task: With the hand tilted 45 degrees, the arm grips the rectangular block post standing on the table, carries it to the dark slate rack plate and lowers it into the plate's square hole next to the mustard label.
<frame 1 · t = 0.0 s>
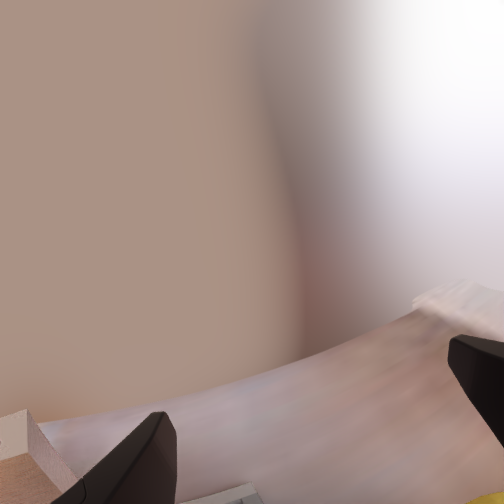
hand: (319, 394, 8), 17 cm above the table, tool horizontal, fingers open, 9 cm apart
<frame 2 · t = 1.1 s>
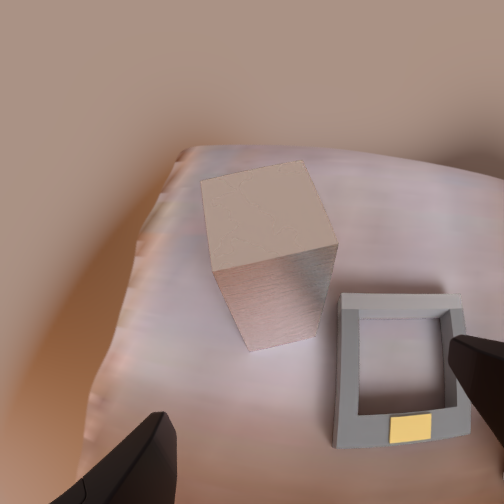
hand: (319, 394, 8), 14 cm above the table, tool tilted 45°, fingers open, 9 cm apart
rectangular block post: (275, 314, 24), on the table
rack plate: (401, 365, 21), on the table
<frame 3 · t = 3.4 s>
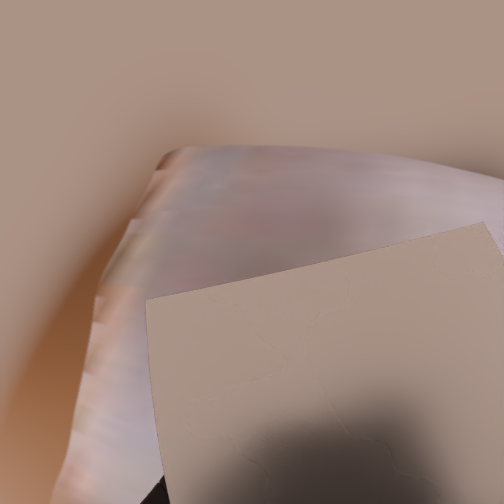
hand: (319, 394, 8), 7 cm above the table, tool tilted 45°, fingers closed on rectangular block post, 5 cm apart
rectangular block post: (312, 433, 13), on the table, touching gripper
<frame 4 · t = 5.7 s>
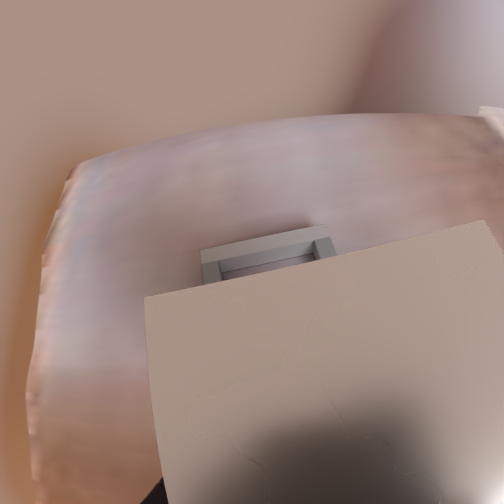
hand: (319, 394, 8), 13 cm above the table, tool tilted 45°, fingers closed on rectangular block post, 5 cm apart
rectangular block post: (312, 433, 13), point 7 cm above the table, touching gripper
rack plate: (277, 305, 24), on the table
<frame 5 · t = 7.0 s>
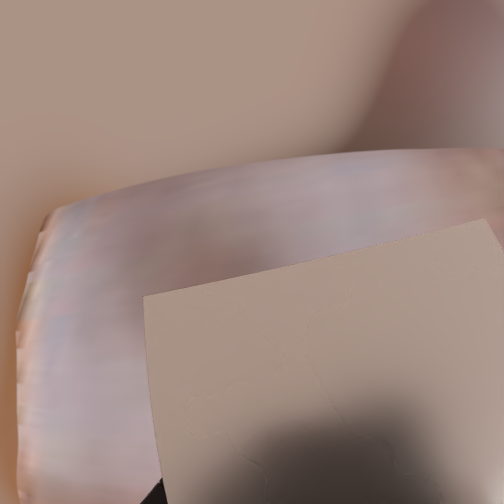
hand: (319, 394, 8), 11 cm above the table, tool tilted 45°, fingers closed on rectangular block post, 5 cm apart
rectangular block post: (312, 433, 13), point 4 cm above the table, touching gripper
when the fingers open (8 cm above the table, at t = 8.0 s): rectangular block post drops 1 cm, resting in rack plate.
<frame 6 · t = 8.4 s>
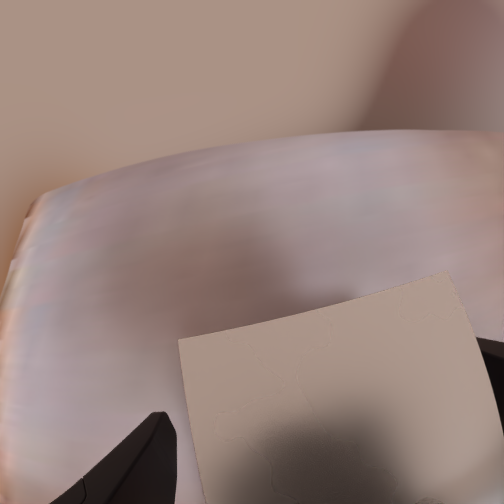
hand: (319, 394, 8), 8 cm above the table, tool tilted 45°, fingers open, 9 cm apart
rectangular block post: (309, 433, 14), resting in rack plate
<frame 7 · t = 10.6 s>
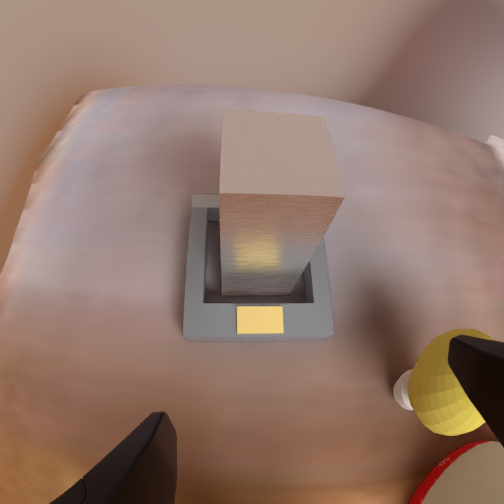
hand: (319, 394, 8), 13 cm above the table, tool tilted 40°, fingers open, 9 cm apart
rectangular block post: (254, 264, 24), resting in rack plate
light bulb: (404, 390, 21), on the table
rack plate: (255, 263, 24), on the table
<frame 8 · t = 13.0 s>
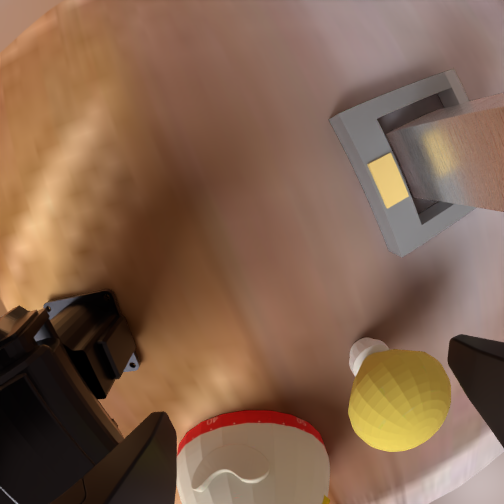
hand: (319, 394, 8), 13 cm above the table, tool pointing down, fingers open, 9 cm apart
kitchen timer: (251, 459, 25), on the table
rectangular block post: (424, 152, 20), resting in rack plate
light bulb: (362, 349, 23), on the table
rack plate: (425, 153, 20), on the table
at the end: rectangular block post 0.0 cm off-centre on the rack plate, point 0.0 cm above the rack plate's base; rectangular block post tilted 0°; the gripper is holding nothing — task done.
